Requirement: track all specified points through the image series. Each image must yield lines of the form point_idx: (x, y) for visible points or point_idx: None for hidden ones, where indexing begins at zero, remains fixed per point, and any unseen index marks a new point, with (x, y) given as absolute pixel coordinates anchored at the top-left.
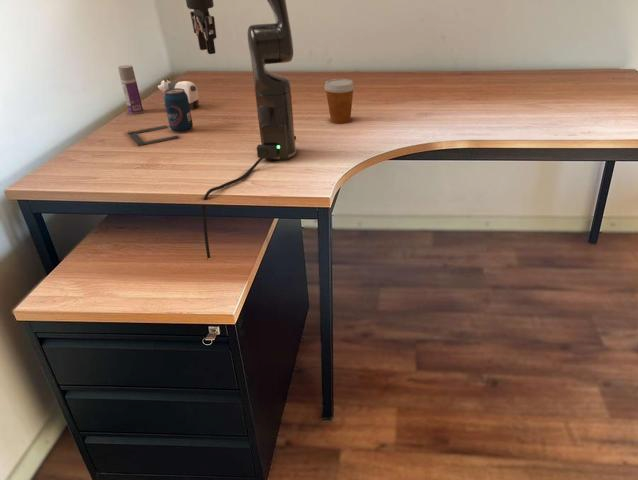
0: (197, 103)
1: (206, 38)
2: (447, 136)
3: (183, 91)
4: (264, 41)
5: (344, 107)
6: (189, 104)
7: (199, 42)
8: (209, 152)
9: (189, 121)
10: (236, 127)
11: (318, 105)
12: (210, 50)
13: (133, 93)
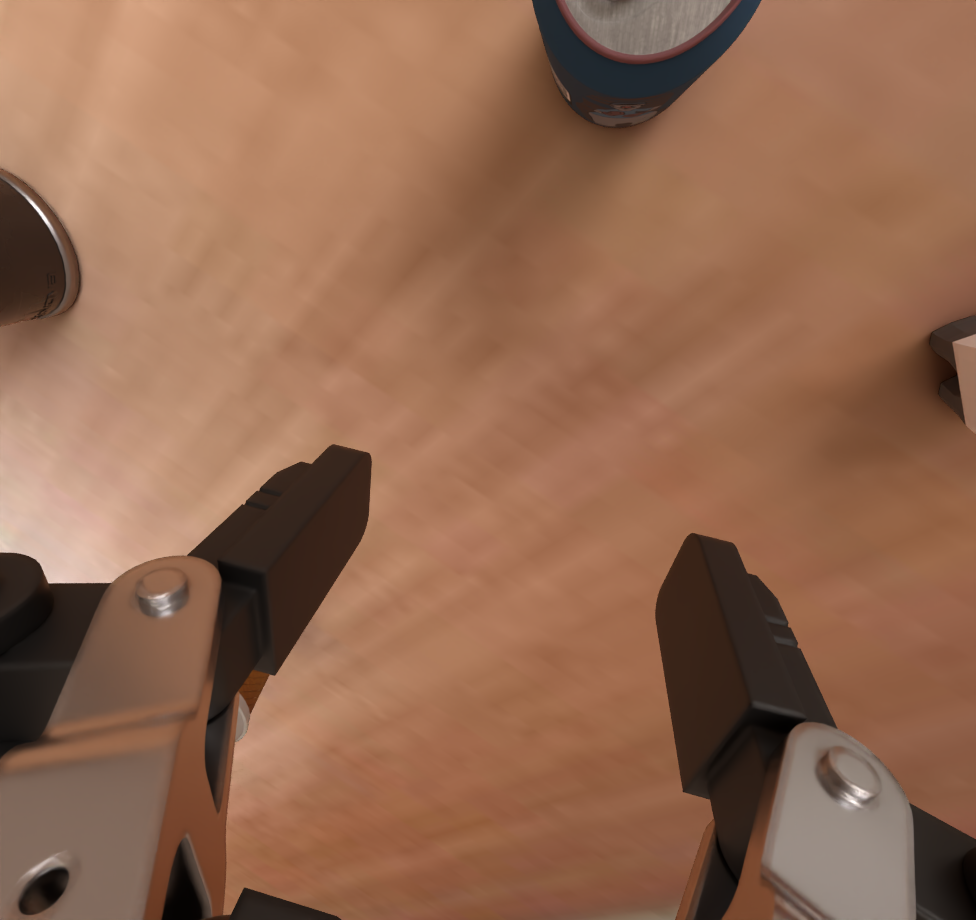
0: (949, 399)
1: (114, 581)
2: None
3: (563, 15)
4: None
5: None
6: (961, 334)
7: (718, 614)
8: None
9: (551, 69)
10: (433, 324)
11: (454, 671)
12: (274, 478)
13: None
